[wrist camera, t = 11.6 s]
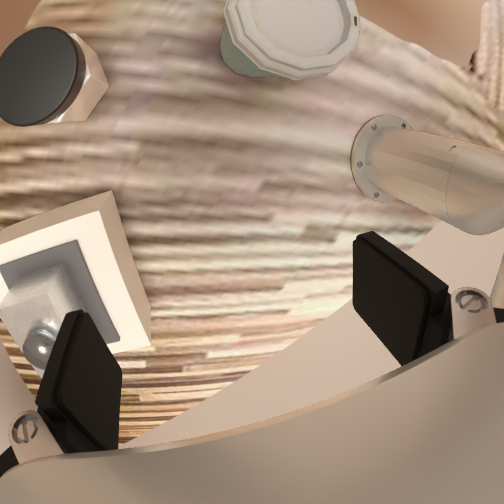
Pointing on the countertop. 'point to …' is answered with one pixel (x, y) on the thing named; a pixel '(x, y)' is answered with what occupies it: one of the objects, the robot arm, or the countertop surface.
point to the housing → (39, 311)
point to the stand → (84, 265)
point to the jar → (49, 78)
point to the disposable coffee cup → (288, 36)
